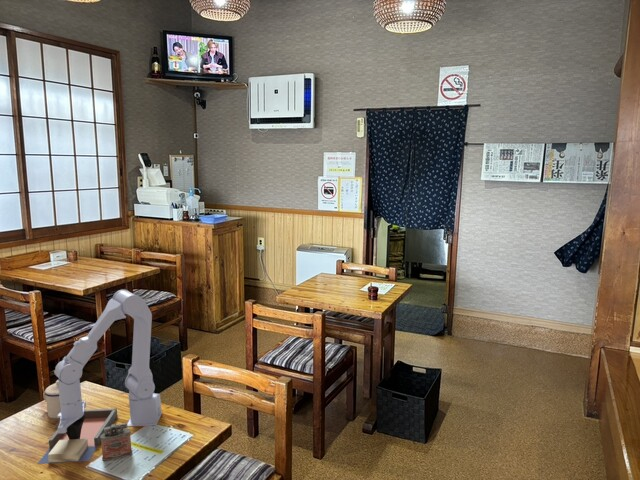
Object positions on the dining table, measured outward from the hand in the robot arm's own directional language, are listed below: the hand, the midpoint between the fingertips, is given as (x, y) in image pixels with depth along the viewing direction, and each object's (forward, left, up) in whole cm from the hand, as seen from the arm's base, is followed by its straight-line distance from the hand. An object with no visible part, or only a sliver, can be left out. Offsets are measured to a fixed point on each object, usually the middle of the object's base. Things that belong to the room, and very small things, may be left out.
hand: (75, 441), depth 143 cm
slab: (0, +5, -1) cm, 5 cm away
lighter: (-14, +7, -2) cm, 16 cm away
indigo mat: (0, +5, -1) cm, 5 cm away
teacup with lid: (+14, -21, -2) cm, 25 cm away
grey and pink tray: (0, -7, -1) cm, 8 cm away
